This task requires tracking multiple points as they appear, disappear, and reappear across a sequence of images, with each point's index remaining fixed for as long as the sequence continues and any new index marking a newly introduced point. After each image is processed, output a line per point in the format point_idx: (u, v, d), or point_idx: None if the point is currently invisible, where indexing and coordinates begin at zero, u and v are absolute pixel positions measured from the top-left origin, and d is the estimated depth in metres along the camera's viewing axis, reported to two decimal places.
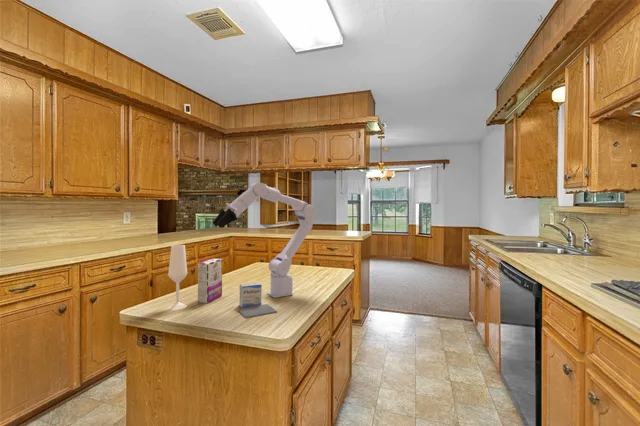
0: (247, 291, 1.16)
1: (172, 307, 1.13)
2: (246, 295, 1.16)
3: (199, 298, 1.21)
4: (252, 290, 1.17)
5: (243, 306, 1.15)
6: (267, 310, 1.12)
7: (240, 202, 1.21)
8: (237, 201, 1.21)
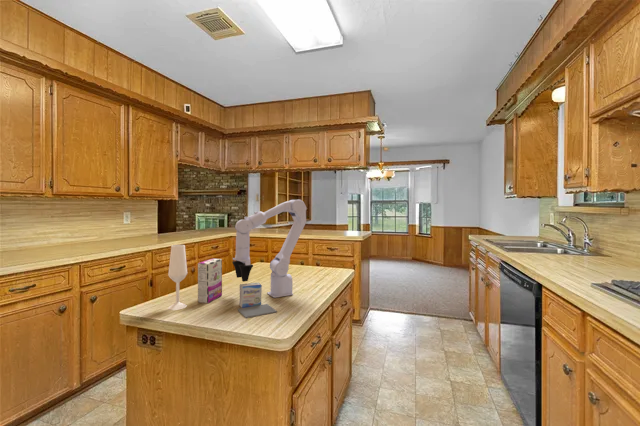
0: (247, 291, 1.16)
1: (172, 307, 1.13)
2: (246, 295, 1.16)
3: (199, 298, 1.21)
4: (252, 290, 1.17)
5: (243, 306, 1.15)
6: (267, 310, 1.12)
7: (241, 250, 1.24)
8: (239, 251, 1.24)
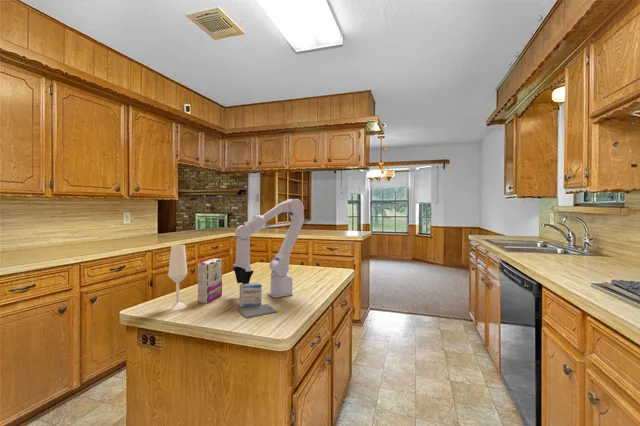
0: (247, 291, 1.16)
1: (172, 307, 1.13)
2: (246, 295, 1.16)
3: (199, 298, 1.21)
4: (252, 290, 1.17)
5: (243, 306, 1.15)
6: (267, 310, 1.12)
7: (242, 256, 1.24)
8: (239, 257, 1.24)
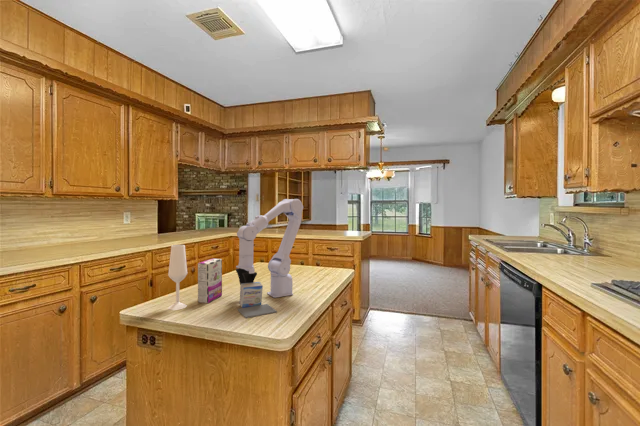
0: (248, 292, 1.15)
1: (172, 307, 1.13)
2: (247, 296, 1.15)
3: (199, 298, 1.21)
4: (253, 291, 1.16)
5: (243, 306, 1.15)
6: (267, 310, 1.12)
7: (245, 258, 1.20)
8: (242, 259, 1.20)
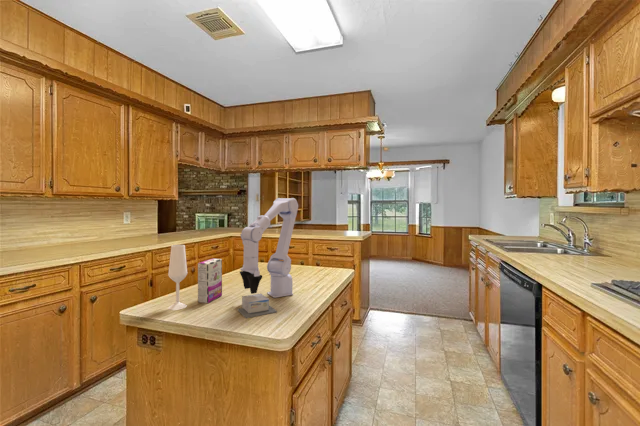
0: None
1: (172, 307, 1.13)
2: None
3: (199, 298, 1.21)
4: None
5: None
6: (267, 310, 1.12)
7: (250, 260, 1.16)
8: (247, 261, 1.16)
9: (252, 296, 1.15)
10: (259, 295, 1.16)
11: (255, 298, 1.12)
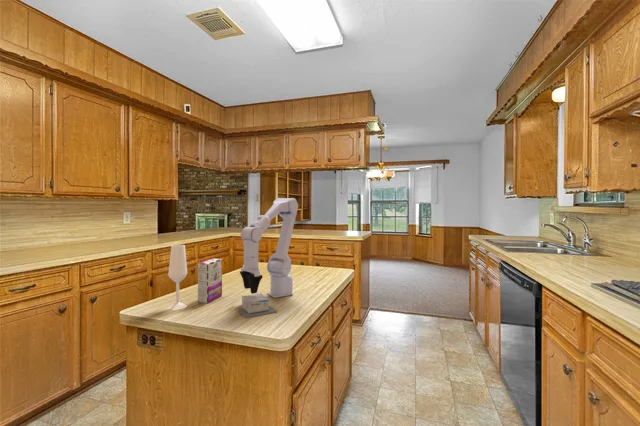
0: None
1: (172, 307, 1.13)
2: None
3: (199, 298, 1.21)
4: None
5: None
6: (267, 310, 1.12)
7: (250, 260, 1.16)
8: (247, 261, 1.16)
9: (252, 296, 1.15)
10: (259, 295, 1.16)
11: (255, 298, 1.12)
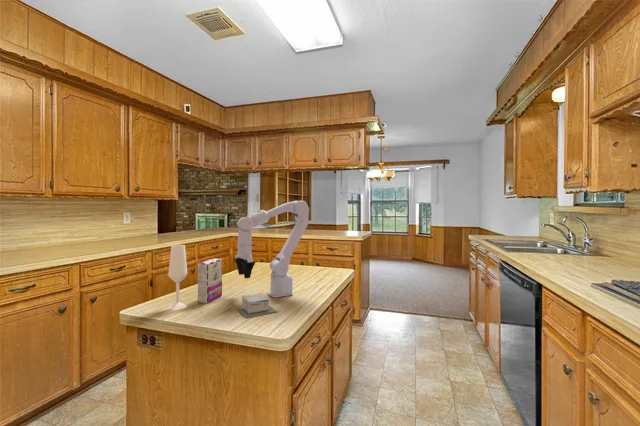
0: None
1: (172, 307, 1.13)
2: None
3: (199, 298, 1.21)
4: None
5: None
6: (267, 310, 1.12)
7: (244, 247, 1.25)
8: (241, 248, 1.25)
9: (252, 296, 1.15)
10: (259, 295, 1.16)
11: (255, 298, 1.12)
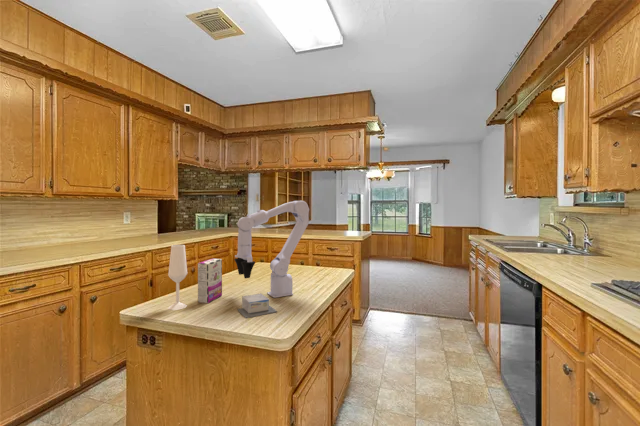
0: None
1: (172, 307, 1.13)
2: None
3: (199, 298, 1.21)
4: None
5: None
6: (267, 310, 1.12)
7: (243, 247, 1.25)
8: (241, 248, 1.25)
9: (252, 296, 1.15)
10: (259, 295, 1.16)
11: (255, 298, 1.12)
